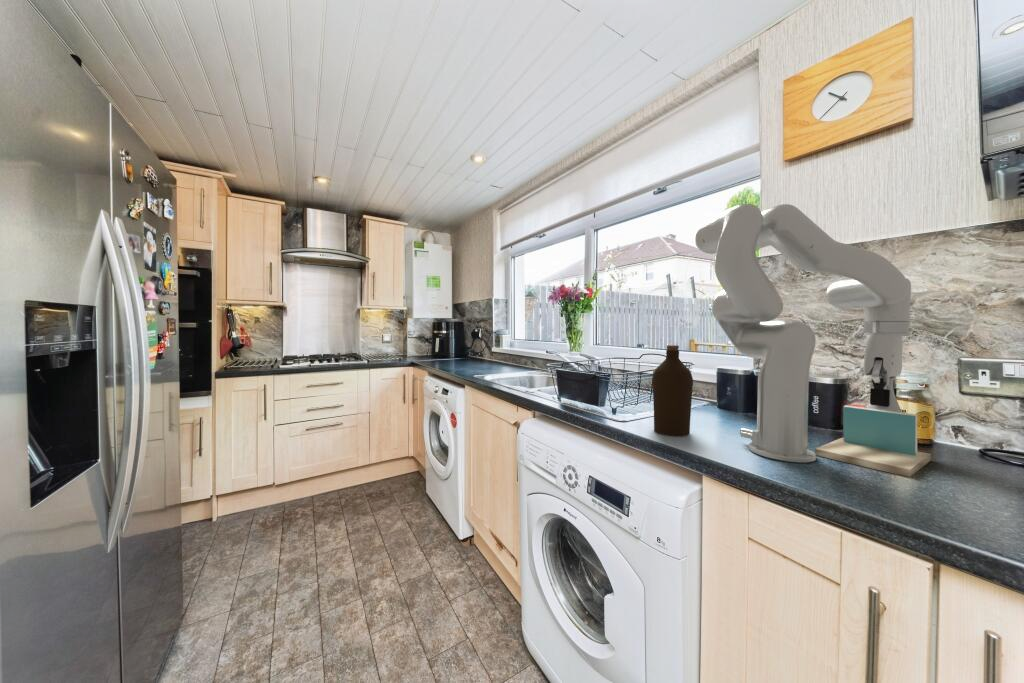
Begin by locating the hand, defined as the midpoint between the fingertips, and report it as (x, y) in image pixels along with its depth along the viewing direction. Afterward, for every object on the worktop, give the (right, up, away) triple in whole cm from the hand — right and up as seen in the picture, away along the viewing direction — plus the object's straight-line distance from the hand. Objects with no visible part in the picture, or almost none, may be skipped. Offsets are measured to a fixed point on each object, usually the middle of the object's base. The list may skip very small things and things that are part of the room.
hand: (883, 403), depth 86 cm
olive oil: (-44, -11, +16) cm, 48 cm away
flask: (0, -4, 0) cm, 4 cm away
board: (-7, -12, -4) cm, 14 cm away
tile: (-3, -10, -2) cm, 11 cm away
